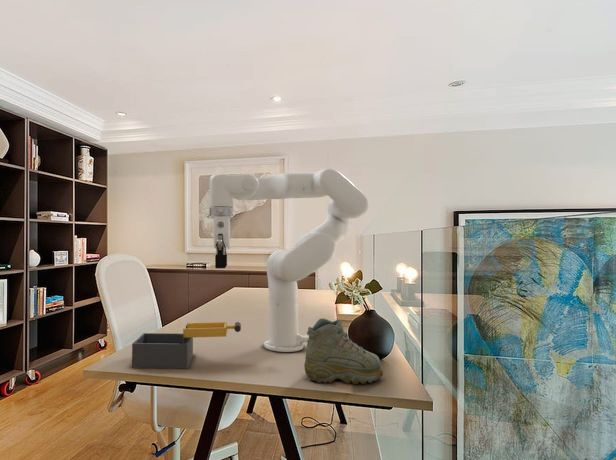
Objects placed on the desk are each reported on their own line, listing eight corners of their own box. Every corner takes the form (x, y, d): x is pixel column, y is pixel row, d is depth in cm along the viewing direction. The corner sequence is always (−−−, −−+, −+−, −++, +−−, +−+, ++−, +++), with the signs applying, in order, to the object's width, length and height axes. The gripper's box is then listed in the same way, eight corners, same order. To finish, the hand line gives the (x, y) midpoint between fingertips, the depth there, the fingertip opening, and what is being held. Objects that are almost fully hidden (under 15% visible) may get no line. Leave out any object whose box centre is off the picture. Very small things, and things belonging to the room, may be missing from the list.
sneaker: (389, 388, 89) (386, 322, 91) (304, 383, 93) (303, 320, 95) (380, 376, 99) (377, 317, 101) (304, 373, 103) (303, 316, 105)
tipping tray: (241, 329, 114) (240, 320, 114) (241, 336, 106) (240, 326, 106) (187, 331, 115) (186, 322, 115) (183, 337, 107) (182, 328, 107)
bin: (192, 355, 116) (193, 325, 117) (187, 368, 104) (187, 334, 104) (143, 354, 117) (143, 324, 117) (131, 367, 105) (132, 334, 105)
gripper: (232, 211, 113) (232, 269, 113) (233, 215, 131) (233, 265, 130) (207, 211, 114) (207, 269, 113) (211, 215, 131) (211, 265, 130)
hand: (221, 267), depth 122 cm, fingers open, 9 cm apart
